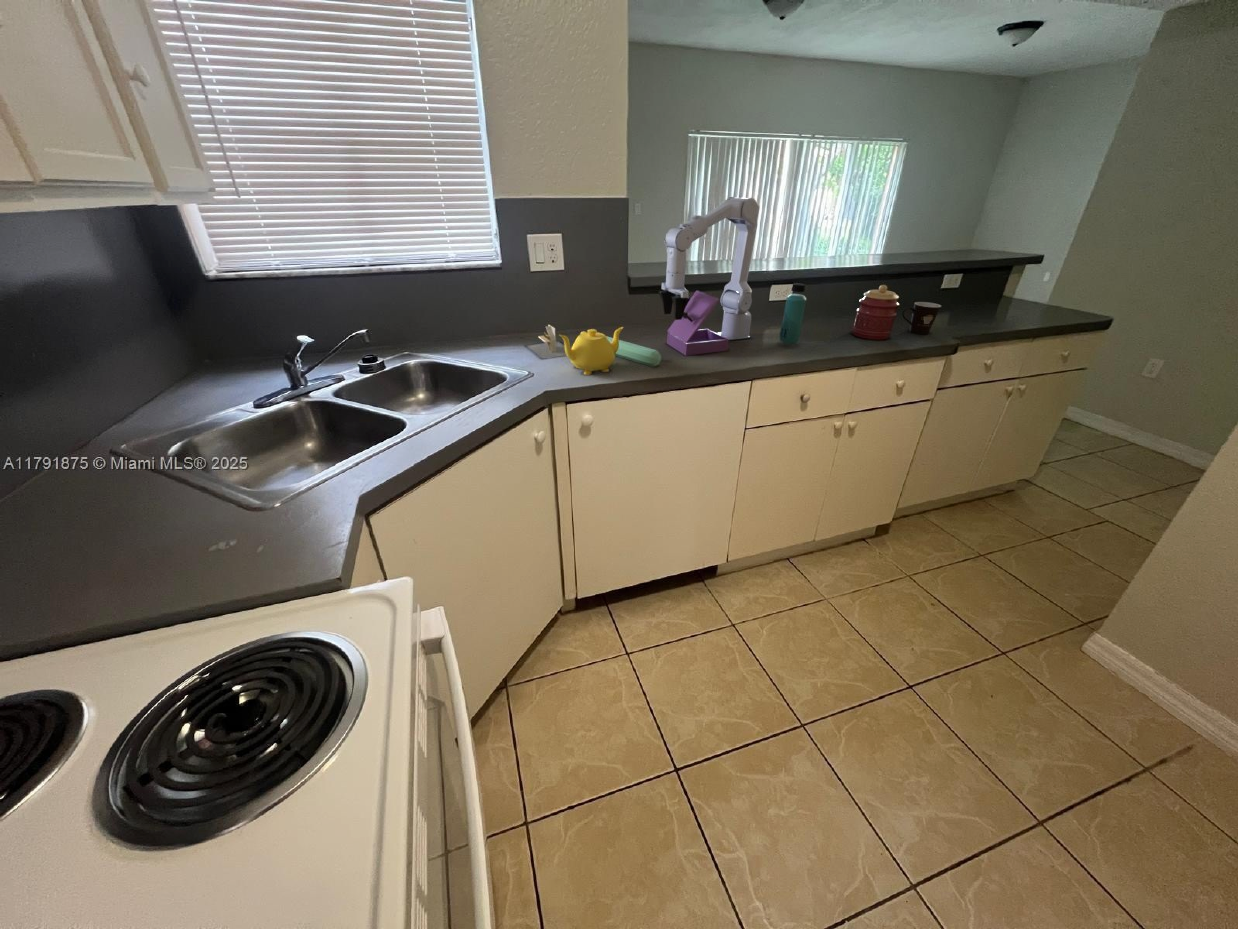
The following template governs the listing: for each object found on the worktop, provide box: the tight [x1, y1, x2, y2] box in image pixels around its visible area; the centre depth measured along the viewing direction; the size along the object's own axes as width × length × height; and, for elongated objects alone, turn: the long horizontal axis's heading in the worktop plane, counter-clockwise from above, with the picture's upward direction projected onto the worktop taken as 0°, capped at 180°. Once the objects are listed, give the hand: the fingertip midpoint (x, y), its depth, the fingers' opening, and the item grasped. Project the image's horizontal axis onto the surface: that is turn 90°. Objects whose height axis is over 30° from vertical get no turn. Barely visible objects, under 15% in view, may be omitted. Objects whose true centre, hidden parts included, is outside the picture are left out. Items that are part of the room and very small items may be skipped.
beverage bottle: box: [779, 283, 807, 344], centre depth 161 cm, size 6×7×20 cm
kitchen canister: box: [851, 284, 901, 341], centre depth 174 cm, size 13×13×18 cm
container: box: [605, 335, 662, 368], centre depth 151 cm, size 6×6×25 cm
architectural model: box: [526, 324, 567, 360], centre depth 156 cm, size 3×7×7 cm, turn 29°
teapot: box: [558, 326, 624, 376], centre depth 141 cm, size 20×15×12 cm
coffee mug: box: [901, 301, 942, 335], centre depth 182 cm, size 12×9×10 cm
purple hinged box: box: [667, 290, 720, 343], centre depth 155 cm, size 16×14×5 cm
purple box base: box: [666, 328, 730, 356], centre depth 162 cm, size 16×14×4 cm
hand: (672, 316), depth 156 cm, fingers open, 7 cm apart
